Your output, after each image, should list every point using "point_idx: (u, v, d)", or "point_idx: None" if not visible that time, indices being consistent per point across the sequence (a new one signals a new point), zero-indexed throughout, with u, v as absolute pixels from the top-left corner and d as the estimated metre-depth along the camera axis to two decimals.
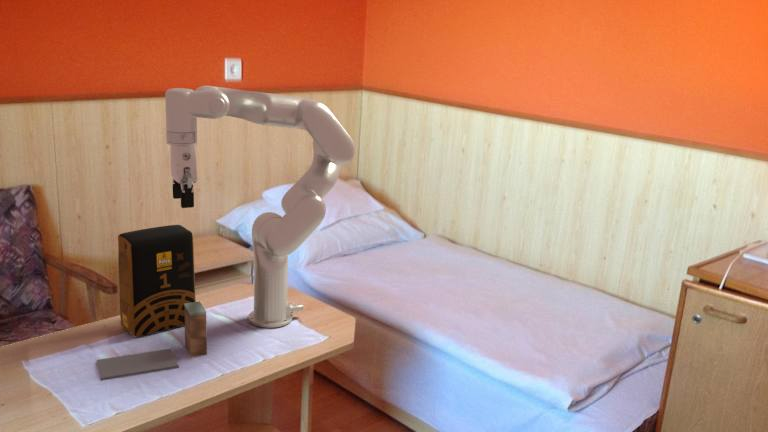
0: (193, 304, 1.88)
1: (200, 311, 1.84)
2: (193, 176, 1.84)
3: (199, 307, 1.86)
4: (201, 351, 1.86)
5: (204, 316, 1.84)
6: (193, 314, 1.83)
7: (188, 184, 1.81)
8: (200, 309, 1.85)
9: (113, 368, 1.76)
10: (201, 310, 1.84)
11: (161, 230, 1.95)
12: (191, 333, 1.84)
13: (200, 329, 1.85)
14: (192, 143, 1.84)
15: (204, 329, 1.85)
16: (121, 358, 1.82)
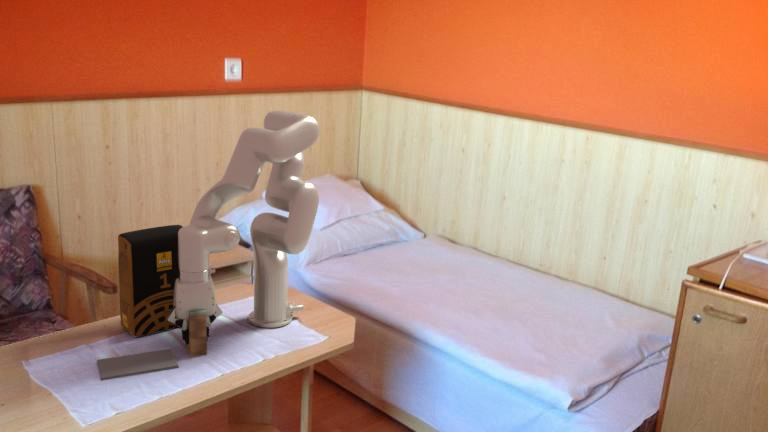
0: None
1: (200, 311, 1.84)
2: None
3: None
4: (201, 351, 1.86)
5: (204, 316, 1.84)
6: (193, 314, 1.83)
7: None
8: None
9: (113, 368, 1.76)
10: (201, 310, 1.84)
11: (161, 230, 1.95)
12: (191, 333, 1.84)
13: (200, 329, 1.85)
14: None
15: (204, 329, 1.85)
16: (121, 358, 1.82)
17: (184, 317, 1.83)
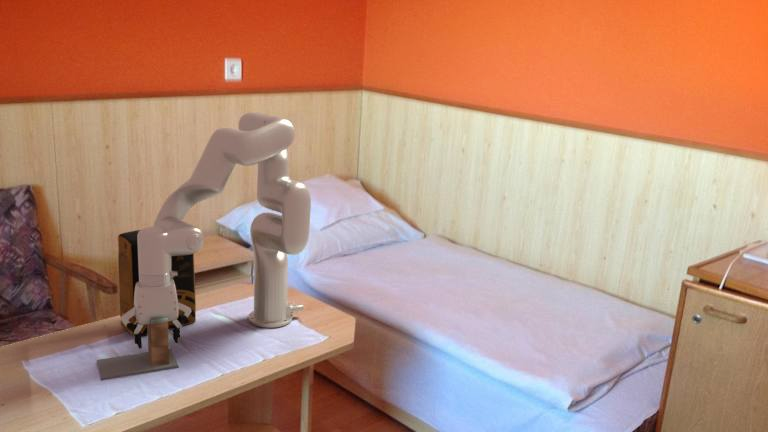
0: None
1: (162, 319, 1.77)
2: None
3: None
4: (163, 360, 1.79)
5: (166, 324, 1.77)
6: (154, 322, 1.76)
7: None
8: None
9: (113, 368, 1.76)
10: (162, 318, 1.77)
11: None
12: (152, 341, 1.77)
13: (162, 337, 1.77)
14: None
15: (166, 337, 1.78)
16: (121, 358, 1.82)
17: (145, 322, 1.76)
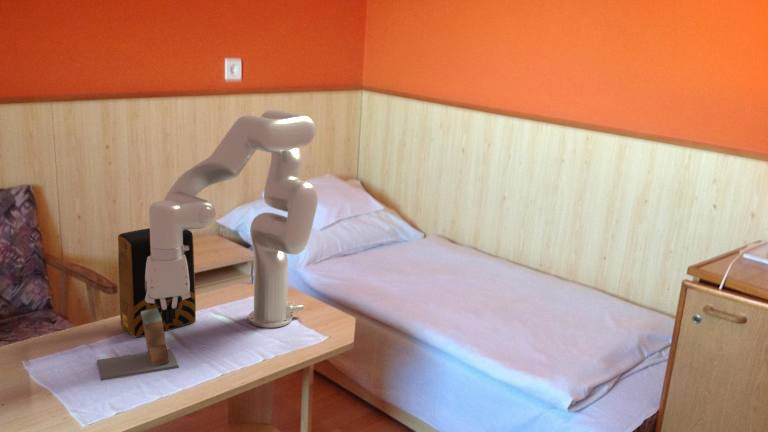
0: (149, 311, 1.80)
1: (156, 319, 1.76)
2: None
3: (155, 314, 1.78)
4: (163, 359, 1.79)
5: (160, 323, 1.76)
6: (148, 323, 1.75)
7: None
8: (156, 316, 1.77)
9: (113, 368, 1.76)
10: (156, 318, 1.76)
11: None
12: (149, 342, 1.76)
13: (158, 337, 1.77)
14: None
15: (162, 337, 1.77)
16: (121, 358, 1.82)
17: (156, 296, 1.75)
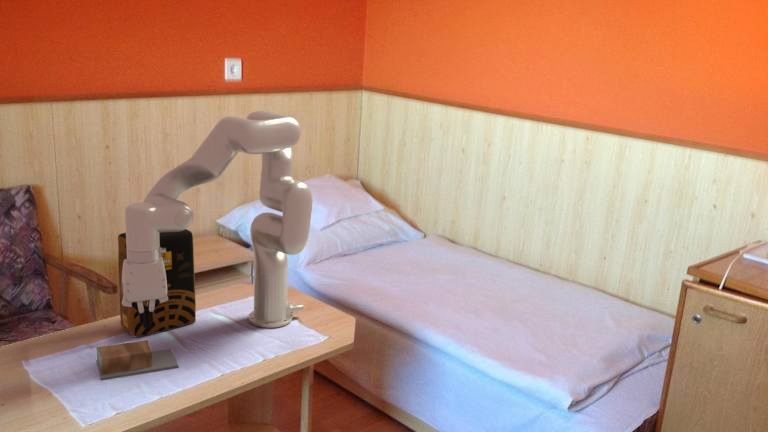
0: (97, 357, 1.77)
1: (99, 363, 1.73)
2: None
3: None
4: (146, 357, 1.77)
5: (105, 360, 1.73)
6: (101, 371, 1.73)
7: None
8: (98, 360, 1.74)
9: None
10: (99, 362, 1.73)
11: None
12: (124, 370, 1.76)
13: (120, 362, 1.75)
14: None
15: (120, 358, 1.74)
16: None
17: (133, 300, 1.73)
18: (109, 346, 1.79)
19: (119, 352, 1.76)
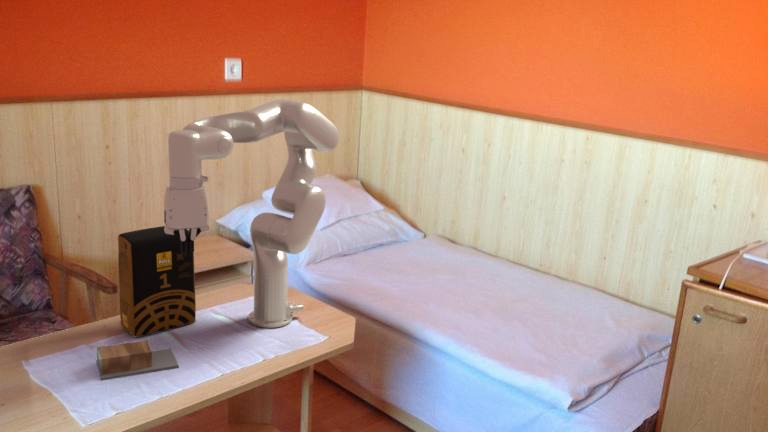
0: (97, 357, 1.77)
1: (99, 363, 1.73)
2: None
3: None
4: (146, 357, 1.77)
5: (105, 360, 1.73)
6: (101, 371, 1.73)
7: None
8: (98, 360, 1.74)
9: None
10: (99, 362, 1.73)
11: (161, 230, 1.95)
12: (124, 370, 1.76)
13: (120, 362, 1.75)
14: None
15: (120, 358, 1.74)
16: None
17: (175, 227, 1.74)
18: (109, 346, 1.79)
19: (119, 352, 1.76)
